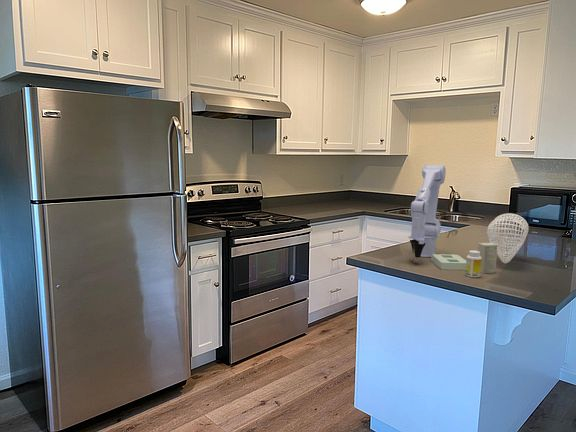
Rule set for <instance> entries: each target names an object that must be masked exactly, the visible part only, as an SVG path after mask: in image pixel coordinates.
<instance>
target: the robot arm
mask: <svg viewBox="0 0 576 432" xmlns="http://www.w3.org/2000/svg"><path fill="white" fill-rule="evenodd" d="M421 175H422V179H423V182H422V185H421V186H422V187H421V188H419V189H418V191H417V193H416V196H415V198H414V200H413V201H412V202H411V203H410V214H411V234H410V235H408V239H410V240H409V243H410V245H411V246H410V247H411V251H412V252H413V251H414V253H415V257H416V258H420V259H421V258H431V254H436V250H437V239H438V238H439V237H441V236H440V235H441V230H442V229H441V225H442V224H441V222H440V221H439V220H438V219H437V217H436V216H437V209H438V201H439V193H440V187H441V185H443V184H444V183H445V182H446V181H445V180H446V166H445V165H444V164H442V165H437V164H436V165H433V164H431V165H430V164H424V165H423V167H422V170H421Z"/></svg>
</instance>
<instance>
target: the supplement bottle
mask: <svg viewBox="0 0 576 432" xmlns="http://www.w3.org/2000/svg"><path fill="white" fill-rule="evenodd" d="M468 252H469V253H468V255H467V256H466V270H465V275H466V277H469V278H479V277H481V274H482V273H481V259H482V258H481V257H480V252H479V251H478V250H473V249H472V250H469V251H468Z"/></svg>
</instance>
